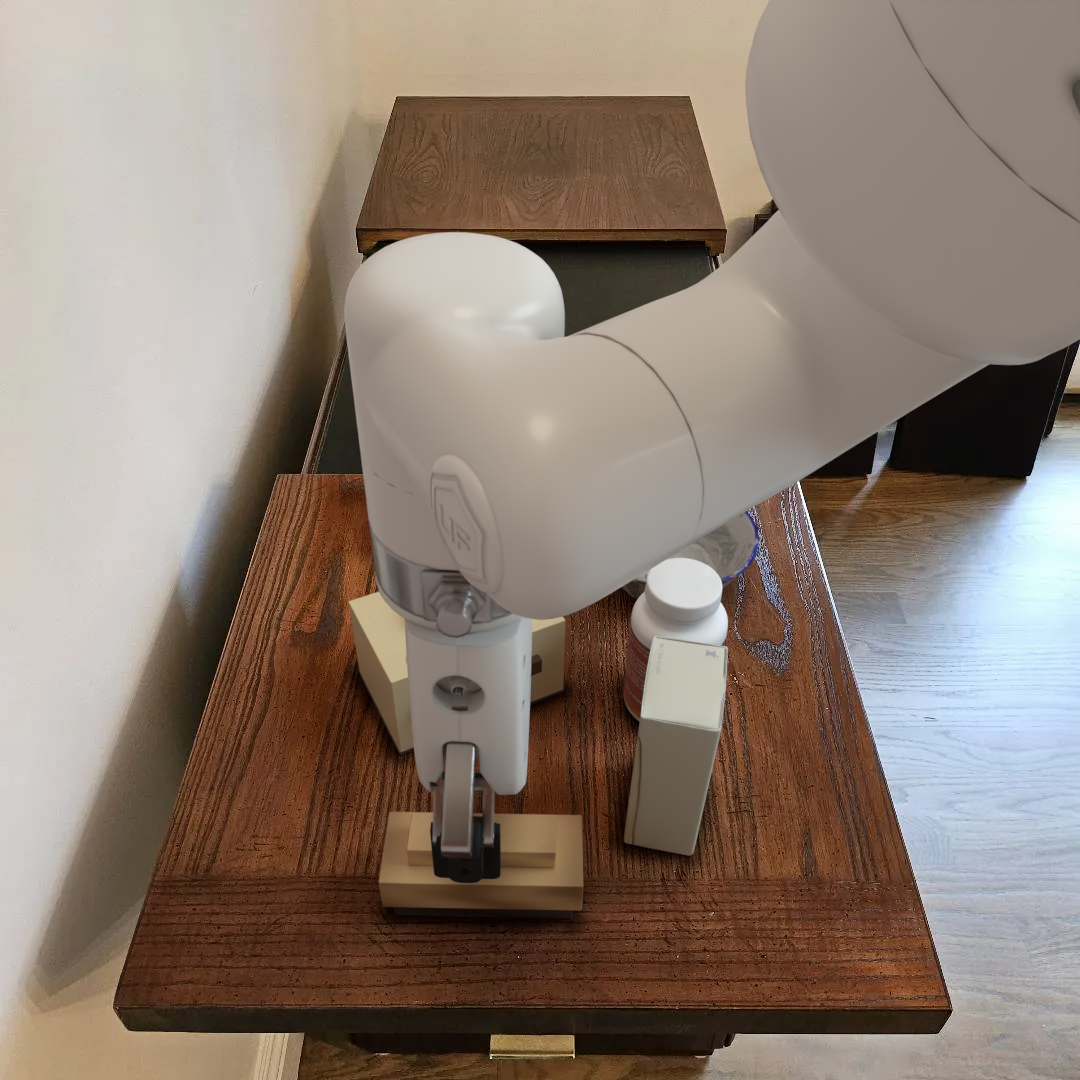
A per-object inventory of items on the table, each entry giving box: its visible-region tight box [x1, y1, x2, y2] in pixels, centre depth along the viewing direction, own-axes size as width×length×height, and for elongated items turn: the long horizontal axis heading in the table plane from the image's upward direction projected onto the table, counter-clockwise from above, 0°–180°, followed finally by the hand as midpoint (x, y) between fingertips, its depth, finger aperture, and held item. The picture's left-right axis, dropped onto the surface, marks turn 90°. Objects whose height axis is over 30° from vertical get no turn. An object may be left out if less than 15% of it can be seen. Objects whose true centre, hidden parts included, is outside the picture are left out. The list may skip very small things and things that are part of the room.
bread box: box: [348, 591, 566, 757], centre depth 67 cm, size 9×12×7 cm
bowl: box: [621, 510, 760, 601], centre depth 77 cm, size 13×13×5 cm
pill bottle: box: [623, 558, 729, 723], centre depth 65 cm, size 6×6×11 cm
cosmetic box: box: [623, 636, 729, 856], centre depth 58 cm, size 6×4×12 cm
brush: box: [378, 811, 584, 919], centre depth 56 cm, size 11×4×6 cm, turn 89°
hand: (474, 788), depth 52 cm, fingers open, 9 cm apart
